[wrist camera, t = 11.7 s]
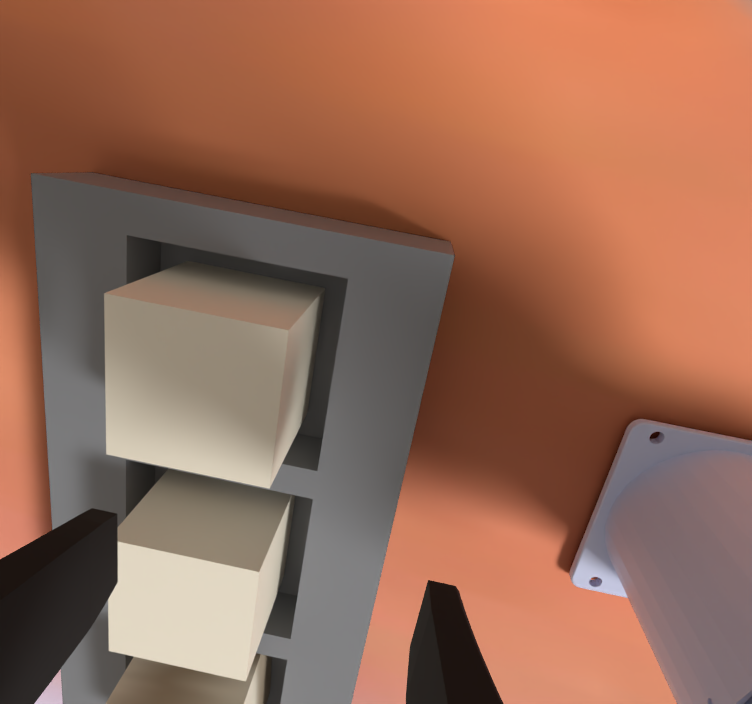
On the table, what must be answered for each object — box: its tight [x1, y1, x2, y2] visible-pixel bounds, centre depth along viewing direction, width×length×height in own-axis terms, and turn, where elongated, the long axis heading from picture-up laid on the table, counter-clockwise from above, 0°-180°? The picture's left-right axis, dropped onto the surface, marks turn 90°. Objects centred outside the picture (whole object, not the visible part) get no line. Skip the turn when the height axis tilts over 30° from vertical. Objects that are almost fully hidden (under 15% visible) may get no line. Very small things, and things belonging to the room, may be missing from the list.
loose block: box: [105, 653, 272, 704], centre depth 22 cm, size 5×5×5 cm
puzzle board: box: [31, 172, 455, 704], centre depth 20 cm, size 13×26×6 cm, turn 170°
